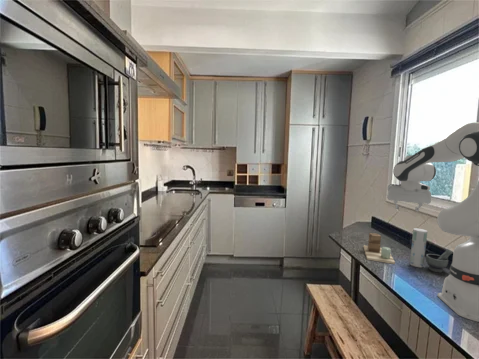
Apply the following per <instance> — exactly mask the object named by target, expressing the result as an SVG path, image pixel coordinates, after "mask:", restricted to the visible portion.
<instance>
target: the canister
mask: <svg viewBox="0 0 479 359" xmlns="http://www.w3.org/2000/svg"><path fill="white" fill-rule="evenodd" d="M381 248H382V250H381V257H382V258H384V259H390V254H391V252H392V249H391V248H390V247H388V246H382V247H381Z"/></svg>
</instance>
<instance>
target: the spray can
mask: <svg viewBox="0 0 479 359" xmlns="http://www.w3.org/2000/svg"><path fill="white" fill-rule="evenodd" d="M428 232H429V231H428V230H426V229H424V228H415V227H414V228H413V230H412V239H411V249H410V258H409V265H411V266H412V267H416V268H423V267H424V264H425V263H424V262H425V257H426V256H425V255H426V249H427V248H426V247H427V238H428Z"/></svg>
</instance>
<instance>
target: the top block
mask: <svg viewBox="0 0 479 359" xmlns="http://www.w3.org/2000/svg"><path fill="white" fill-rule="evenodd" d="M368 240H369V242H371V243H372V244H380V245H381V240H382V235H381V234H379V233H373V232H372V233H371V232H369V234H368Z"/></svg>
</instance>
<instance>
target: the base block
mask: <svg viewBox="0 0 479 359" xmlns="http://www.w3.org/2000/svg"><path fill="white" fill-rule="evenodd" d="M367 241H368V242H367V246H368V250H369V251H372V252H378V253H380V248H381V243H380V244H372V243H371V242H369V239H368V240H367Z"/></svg>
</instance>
